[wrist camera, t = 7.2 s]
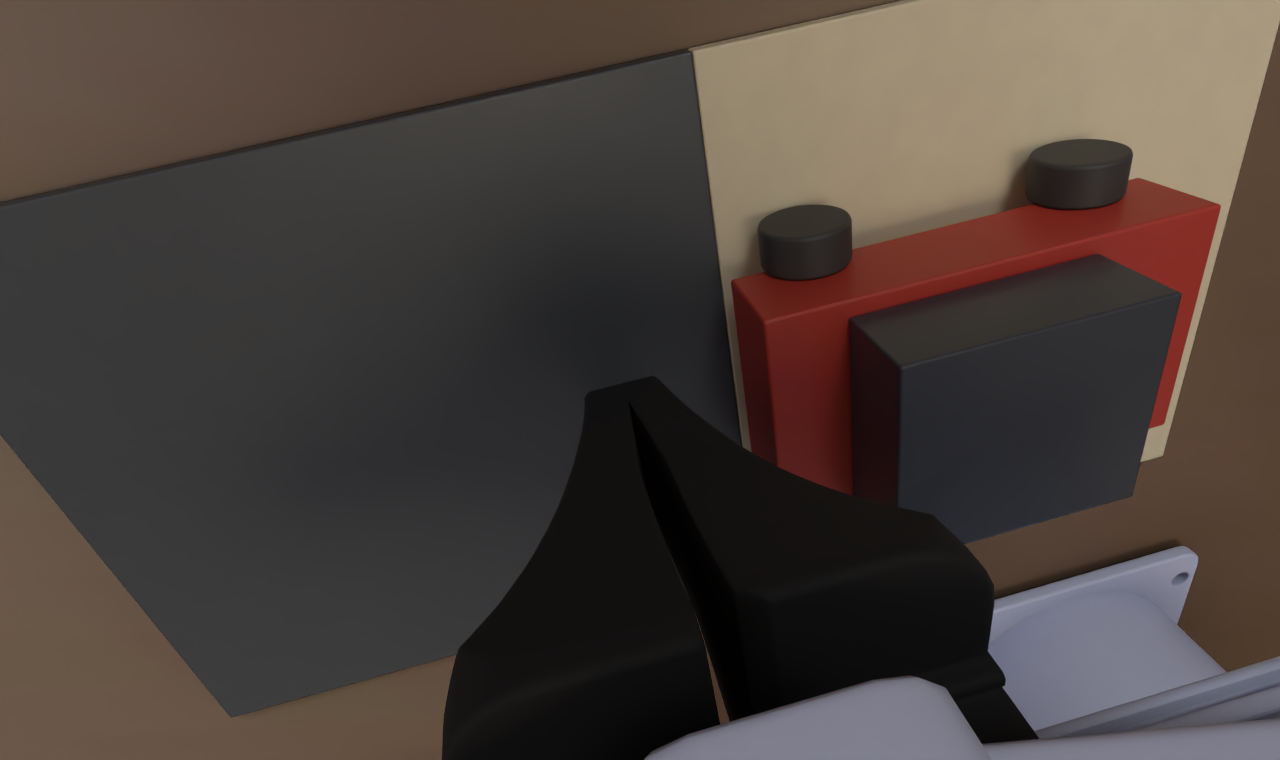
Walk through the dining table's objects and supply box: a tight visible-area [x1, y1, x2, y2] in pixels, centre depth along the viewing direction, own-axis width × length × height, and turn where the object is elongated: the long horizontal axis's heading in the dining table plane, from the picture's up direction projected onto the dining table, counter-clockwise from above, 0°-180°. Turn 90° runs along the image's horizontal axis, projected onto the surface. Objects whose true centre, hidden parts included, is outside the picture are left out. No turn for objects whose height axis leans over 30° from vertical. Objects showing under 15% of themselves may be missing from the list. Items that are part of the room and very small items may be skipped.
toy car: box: [731, 139, 1221, 544], centre depth 13 cm, size 6×8×4 cm
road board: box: [0, 0, 1280, 717], centre depth 15 cm, size 12×24×1 cm, turn 100°
